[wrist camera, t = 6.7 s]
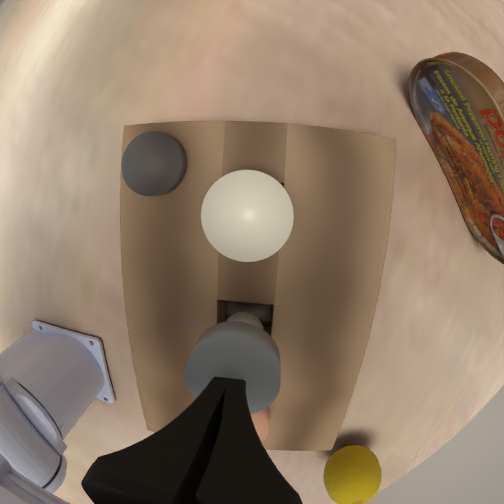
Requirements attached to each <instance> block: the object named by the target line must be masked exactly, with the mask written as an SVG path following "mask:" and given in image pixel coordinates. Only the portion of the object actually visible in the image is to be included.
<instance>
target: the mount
mask: <svg viewBox="0 0 504 504" xmlns="http://www.w3.org/2000/svg"><path fill="white" fill-rule="evenodd" d="M395 156H396V139H394V138H389V137H384V136H378V135H373V134H367V133H361V132H354V131H348V130H341V129H333V128H325V127H316V126H307V125H296V124H284V123H269V122H246V121H186V122H164V123H149V124H137V125H126V126H124V133H123V146H122V162H121V188H120V230H121V257H122V273H123V286H124V297H125V307H126V316H127V324H128V332H129V339H130V345H131V352H132V358H133V364H134V370H135V375H136V380H137V385H138V390H139V395H140V400H141V404H142V409H143V413H144V417H145V421H146V425H147V429H148V430H149V431H153V432H157V431H159V430H160V429H162V428H163V427H164V426H166V425H167V424H169V423H170V422H171V421H172V420H174V419H175V418H176V417H177V416H178V415H179V414H181V413H182V412H183V411H184V410H185V409H186V408H187V407H188V406H189V405H190V404H191V403H192V402H193V401H194V400H195V399H196V398H195V397H194V396H193V395H192V394H191V392H190V391H189V389H188V387H187V385H186V382H185V377H184V371H185V366H186V363H187V361H188V359H189V357H190V355H191V353H192V351H193V349H194V347H195V345H196V343H197V341H198V339H199V337H200V336H201V335H202V333H203V332H204V331H205V330H207V329H208V328H210V327H211V326H213V325H215V324H218V323H222V322H225V315H226V301H236V302H247V303H259V304H272V305H273V310H272V320H271V328H270V327H263V330H264V331H265V332H267V333H268V334H269V335H270V336H271V337H272V338H273V340H274V341H275V343H276V344H277V346H278V348H279V352H280V358H281V384H280V390H279V393H278V395H277V397H276V399H275V400H274V401H273V402H272V403H271V404H270V405H269V409H270V415H269V433H268V436H267V438H266V439H265V440H264V441H263V442H262V444H263V446H264V448H265V449H269V450H292V451H324V450H332V448H333V446H334V443H335V441H336V438H337V436H338V433H339V430H340V428H341V425H342V422H343V420H344V417H345V414H346V411H347V408H348V405H349V403H350V400H351V397H352V394H353V390H354V387H355V384H356V381H357V378H358V374H359V371H360V368H361V364H362V361H363V357H364V354H365V350H366V346H367V342H368V338H369V335H370V330H371V326H372V322H373V318H374V313H375V309H376V304H377V300H378V295H379V290H380V285H381V279H382V274H383V268H384V262H385V256H386V249H387V242H388V235H389V227H390V219H391V210H392V200H393V189H394V175H395ZM239 170H256V171H259V172H263V173H265V174H268V175H269V176H271V177H273V178H274V179H275V180H277V181H278V182H279V183H283V185H282V186H283V187H284V189H285V190H286V192H287V193H288V195H289V197H290V200H291V202H292V206H293V212H294V221H293V227H292V230H291V233H290V235H289V238H288V239H287V241H286V242H285V244H284V245H283V246H282V247H281V248H280V249H279V250H278V251H277V252H276V253H274V254H273V255H271V256H270V257H268V258H265V259H263V260H259V261H254V262H242V261H236V260H233V259H230V258H228V257H226V256H224V255H222V254H221V253H220V252H218V251H217V250H216V249H215V248H214V247H213V246H212V245H211V243H210V242H209V241H208V239H207V237H206V235H205V233H204V230H203V227H202V222H201V209H202V204H203V201H204V198H205V196H206V194H207V192H208V190H209V189H210V188H211V186H212V185H213V184H214V183H215V182H216V181H217V180H219V179H220V178H221V177H223V176H225V175H226V174H229V173H231V172H234V171H239Z"/></svg>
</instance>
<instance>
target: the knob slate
mask: <svg viewBox="0 0 504 504" xmlns="http://www.w3.org/2000/svg"><path fill="white" fill-rule="evenodd" d="M215 376H216V377H224V378H232V379H241V380H245V381H246V397H247V402H248V407H249V410H250V414H253V413H256V412H259V411H261V410H263V409H265V408H266V407H268V406H269V405H270V404H271V403H272V402H273V401H274V400H275V399H276V397H277V395H278V393H279V390H280V384H281V358H280V352H279V348H278V346H277V344H276V343H275V341H274V340H273V338H272V337H271V336H270V335H269V334H268V333H267V332H265V331H264V330H263V325H262V323H261V321H260V320H259V319H258V318H257V317H256V316H255V315H253V314H251V313H247V312H238V313H234V314H232V315H231V316H230V317H228V319H227V320H226V321H225V322H222V323H218V324H215V325H213V326H211V327H210V328H208V329H207V330H205V331H204V332H203V333H202V335H201V336H200V337H199V339H198V341H197V343H196V345H195V347H194V349H193V351H192V353H191V355H190V357H189V359H188V361H187V363H186V366H185V371H184V377H185V382H186V385H187V387H188V389H189V391H190V392H191V394H192V395H193V396H194V397H195V398H197V397H198V396H199V395H200V393H201V392H202V391H203V390H204V389H205V387H206V386H207V385H208V383H209V382H210V381H211V379H212V378H213V377H215Z"/></svg>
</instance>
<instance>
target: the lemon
mask: <svg viewBox="0 0 504 504" xmlns="http://www.w3.org/2000/svg"><path fill="white" fill-rule="evenodd" d="M380 482H381V468H380V464H379V462H378V459H377V457H376V456H375V454H374V453H373V452H372V451H370V450H369V449H368V448H366V447H363V446H359V445H351V446H349V445H347V446H345V447H343V448H341V449H339V450H337V451H336V452H335V453H334V454H332V455H331V457H330V458H329V459H328V461H327V463H326V465H325V469H324V484H325V487H326V490H327V492H328V494H329V496H330V497H331V499H332V500H333V501H335V502H336V503H338V504H363V503H365V502H367V501H368V500H369V499H371V498H372V497H373V496H374V495H375V493H376V492H377V490H378V489H379V486H380Z"/></svg>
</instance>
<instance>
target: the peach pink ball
mask: <svg viewBox="0 0 504 504" xmlns="http://www.w3.org/2000/svg"><path fill="white" fill-rule="evenodd" d="M269 415H270V409H269V406H268V407H266V408H265V409H263V410H261V411H259V412H256V413H253V414H251V417H252V421H253V423H254V426H255V429H256V431H257V434H258V436H259V438H260V440H261V442H263V441H264V440H265V439H266V438H267V436H268V433H269Z"/></svg>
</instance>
